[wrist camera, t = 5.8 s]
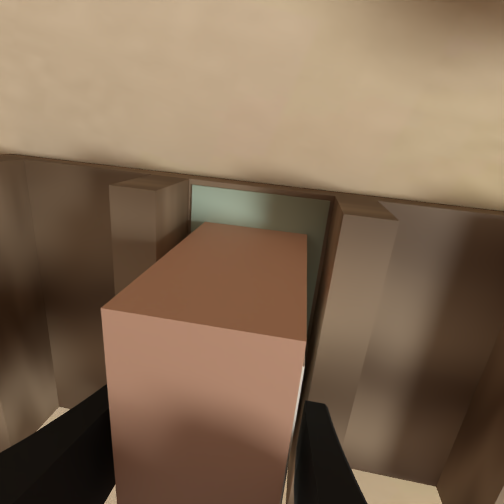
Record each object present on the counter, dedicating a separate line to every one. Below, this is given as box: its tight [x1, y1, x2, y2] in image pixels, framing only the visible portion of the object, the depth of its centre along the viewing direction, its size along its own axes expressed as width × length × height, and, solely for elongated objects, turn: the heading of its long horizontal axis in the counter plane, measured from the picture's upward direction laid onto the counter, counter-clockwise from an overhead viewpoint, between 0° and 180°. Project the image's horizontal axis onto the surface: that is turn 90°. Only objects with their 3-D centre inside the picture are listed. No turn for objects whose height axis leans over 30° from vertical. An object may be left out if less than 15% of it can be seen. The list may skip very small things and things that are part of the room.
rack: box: [0, 154, 504, 504], centre depth 14 cm, size 13×22×4 cm, turn 85°
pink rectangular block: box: [101, 222, 307, 504], centre depth 11 cm, size 4×10×7 cm, turn 175°
